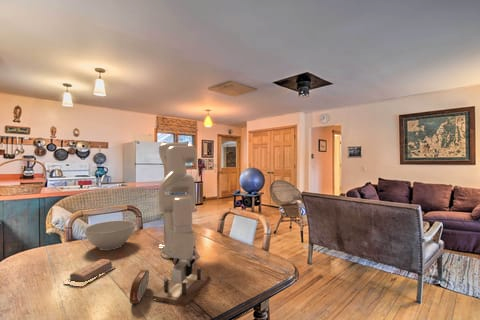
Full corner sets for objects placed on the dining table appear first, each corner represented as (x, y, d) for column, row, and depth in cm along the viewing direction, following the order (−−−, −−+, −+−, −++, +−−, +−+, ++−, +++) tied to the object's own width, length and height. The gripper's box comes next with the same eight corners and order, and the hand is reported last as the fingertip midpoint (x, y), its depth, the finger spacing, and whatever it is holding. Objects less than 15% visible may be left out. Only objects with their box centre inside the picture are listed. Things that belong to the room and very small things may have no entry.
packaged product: (99, 256, 119) (115, 259, 116) (99, 266, 119) (116, 269, 116) (62, 273, 102) (81, 277, 99) (63, 285, 102) (81, 289, 99)
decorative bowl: (132, 236, 163) (132, 218, 163) (139, 249, 140) (138, 228, 140) (84, 244, 149) (84, 224, 149) (83, 259, 126) (83, 236, 126)
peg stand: (152, 299, 90) (152, 284, 90) (181, 274, 109) (181, 262, 109) (186, 306, 86) (186, 290, 86) (210, 278, 105) (209, 266, 105)
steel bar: (171, 283, 91) (170, 269, 91) (185, 266, 105) (185, 255, 105) (181, 283, 90) (181, 270, 90) (194, 267, 104) (194, 255, 104)
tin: (142, 286, 100) (142, 265, 100) (150, 285, 100) (150, 265, 100) (128, 309, 85) (128, 284, 85) (138, 308, 85) (137, 284, 85)
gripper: (158, 229, 96) (159, 275, 96) (197, 232, 91) (198, 281, 91) (169, 224, 103) (170, 267, 103) (206, 227, 98) (206, 272, 98)
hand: (183, 273), depth 97 cm, fingers closed on steel bar, 4 cm apart
